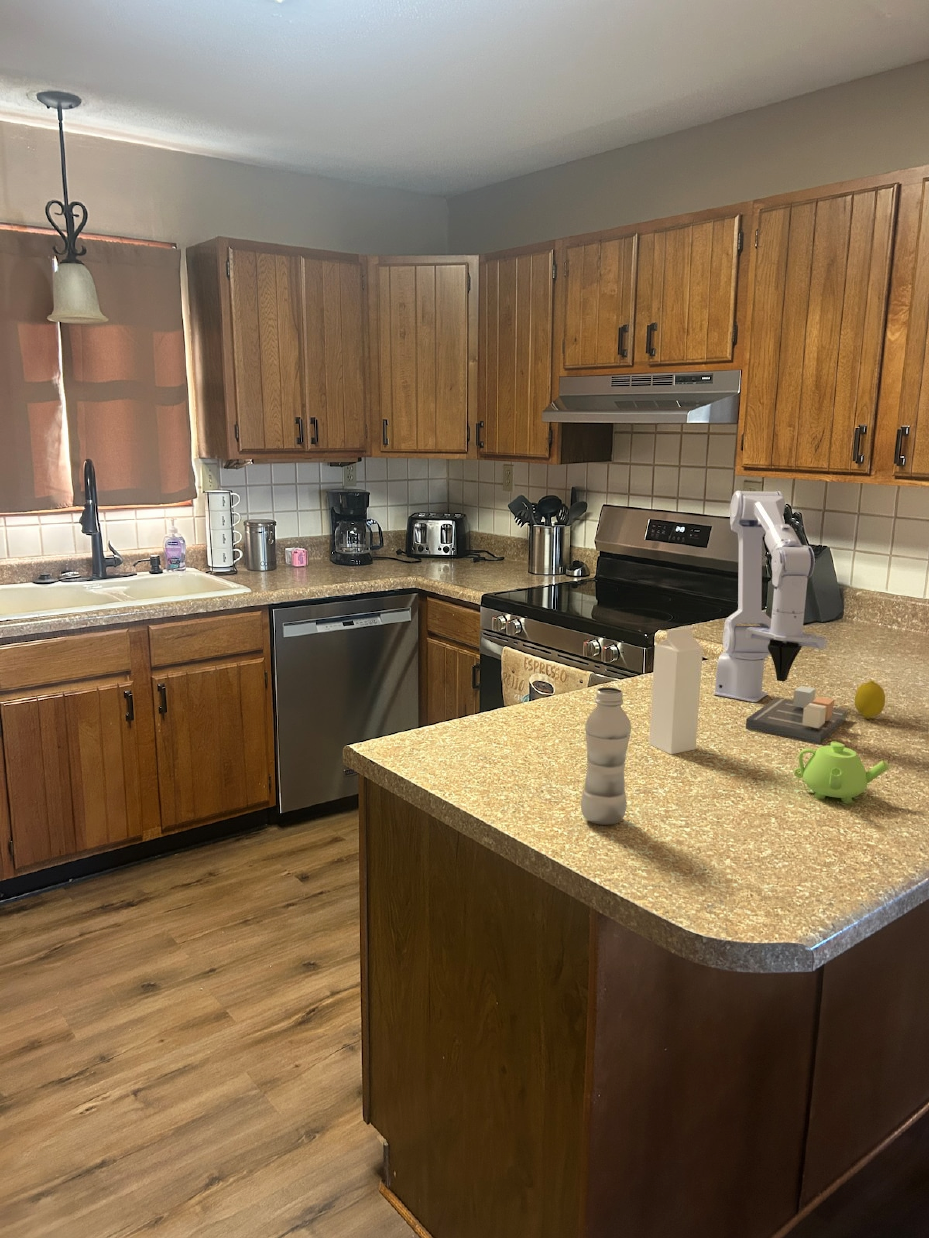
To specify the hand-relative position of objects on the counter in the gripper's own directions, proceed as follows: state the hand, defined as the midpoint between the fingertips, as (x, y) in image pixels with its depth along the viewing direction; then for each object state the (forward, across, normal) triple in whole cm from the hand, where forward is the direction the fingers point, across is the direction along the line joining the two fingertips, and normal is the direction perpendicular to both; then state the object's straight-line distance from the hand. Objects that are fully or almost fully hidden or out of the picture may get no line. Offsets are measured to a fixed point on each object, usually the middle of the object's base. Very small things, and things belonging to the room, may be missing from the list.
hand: (781, 680), depth 173 cm
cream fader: (+7, +7, 0) cm, 10 cm away
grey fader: (+7, +1, +11) cm, 13 cm away
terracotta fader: (+7, +7, +5) cm, 11 cm away
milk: (+10, -12, -22) cm, 27 cm away
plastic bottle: (+10, -7, -58) cm, 59 cm away
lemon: (+10, +12, +18) cm, 24 cm away
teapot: (+10, +18, -26) cm, 33 cm away
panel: (+10, +2, +6) cm, 12 cm away
